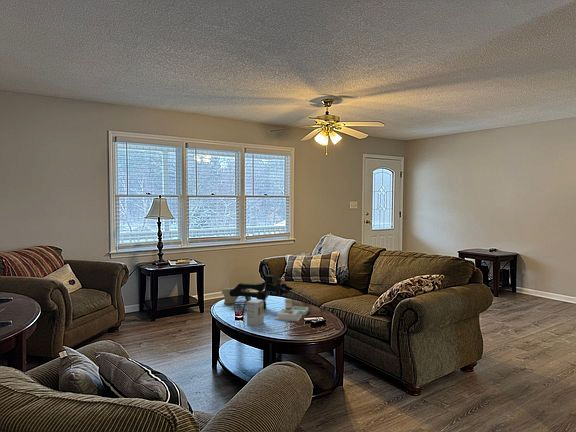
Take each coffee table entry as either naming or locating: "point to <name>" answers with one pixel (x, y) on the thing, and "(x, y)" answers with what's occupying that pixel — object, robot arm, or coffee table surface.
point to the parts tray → (301, 310)
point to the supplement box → (255, 312)
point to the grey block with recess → (288, 315)
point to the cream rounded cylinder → (288, 305)
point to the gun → (231, 299)
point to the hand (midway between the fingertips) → (291, 290)
